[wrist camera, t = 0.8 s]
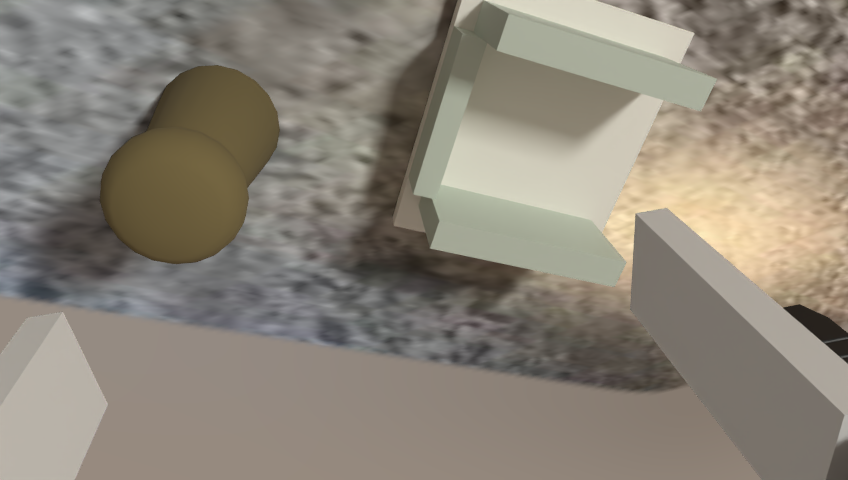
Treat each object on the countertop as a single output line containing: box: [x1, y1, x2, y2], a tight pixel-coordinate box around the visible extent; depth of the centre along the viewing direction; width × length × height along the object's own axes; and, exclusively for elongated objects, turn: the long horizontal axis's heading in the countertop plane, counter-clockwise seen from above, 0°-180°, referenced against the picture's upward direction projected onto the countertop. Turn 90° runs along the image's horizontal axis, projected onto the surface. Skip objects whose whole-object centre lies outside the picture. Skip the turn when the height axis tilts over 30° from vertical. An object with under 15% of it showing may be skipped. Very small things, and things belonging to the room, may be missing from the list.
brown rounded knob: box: [100, 65, 280, 264], centre depth 27 cm, size 6×6×11 cm
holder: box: [392, 0, 717, 287], centre depth 31 cm, size 12×14×6 cm
